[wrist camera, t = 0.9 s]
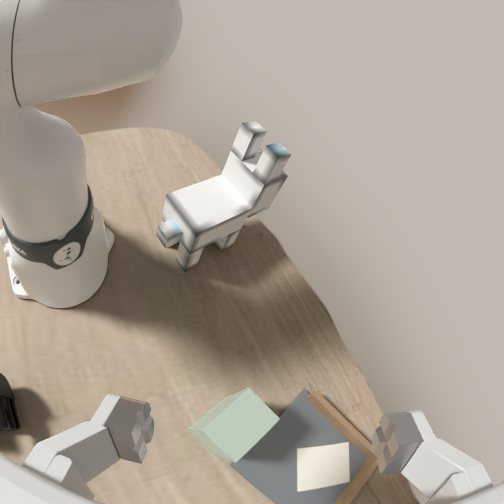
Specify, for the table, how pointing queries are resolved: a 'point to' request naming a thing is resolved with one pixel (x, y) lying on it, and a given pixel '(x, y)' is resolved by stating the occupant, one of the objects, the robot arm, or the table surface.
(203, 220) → the toy llama
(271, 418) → the sage block
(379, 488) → the table surface
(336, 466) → the tray
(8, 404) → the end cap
